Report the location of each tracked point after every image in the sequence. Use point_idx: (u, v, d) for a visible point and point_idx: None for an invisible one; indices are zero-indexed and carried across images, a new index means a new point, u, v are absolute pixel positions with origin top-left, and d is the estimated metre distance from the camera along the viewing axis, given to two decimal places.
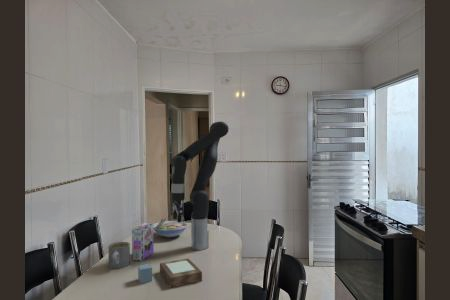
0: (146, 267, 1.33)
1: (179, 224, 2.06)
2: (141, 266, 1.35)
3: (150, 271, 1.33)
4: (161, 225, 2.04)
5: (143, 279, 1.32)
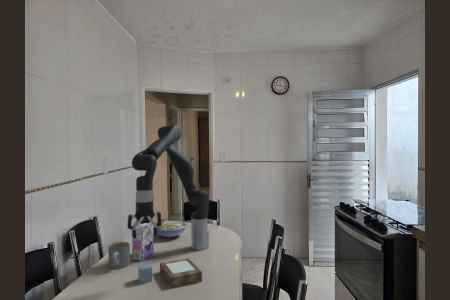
0: (146, 267, 1.33)
1: (179, 224, 2.06)
2: (141, 266, 1.35)
3: (150, 271, 1.33)
4: (161, 225, 2.04)
5: (143, 279, 1.32)
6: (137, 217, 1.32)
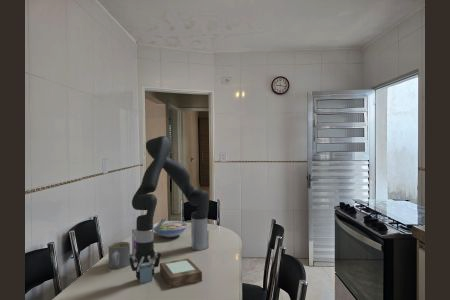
0: (146, 267, 1.33)
1: (179, 224, 2.06)
2: (141, 266, 1.35)
3: (150, 271, 1.33)
4: (161, 225, 2.04)
5: (143, 279, 1.32)
6: (137, 258, 1.32)
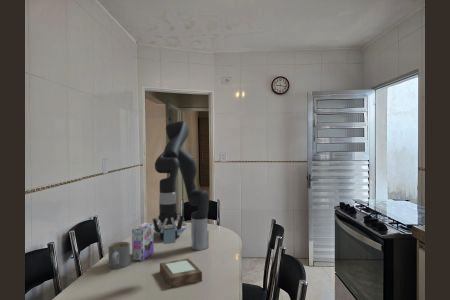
0: (169, 229, 1.36)
1: None
2: (164, 228, 1.37)
3: (173, 232, 1.36)
4: None
5: (167, 240, 1.34)
6: (161, 220, 1.35)
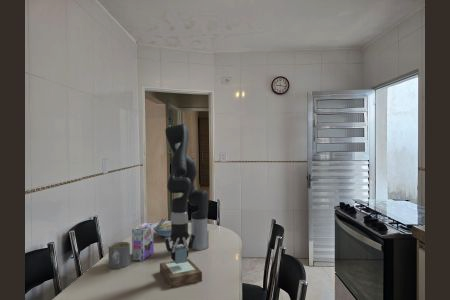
0: (181, 248, 1.37)
1: None
2: (176, 247, 1.38)
3: (185, 252, 1.37)
4: (161, 225, 2.04)
5: (178, 260, 1.35)
6: (173, 240, 1.36)
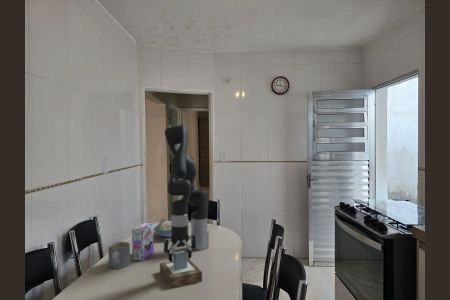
0: (181, 254, 1.37)
1: None
2: (176, 253, 1.38)
3: (185, 258, 1.37)
4: (161, 225, 2.04)
5: (179, 265, 1.35)
6: (173, 241, 1.36)
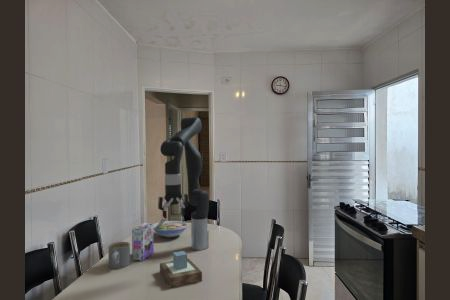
0: (181, 254, 1.37)
1: (179, 224, 2.06)
2: (176, 253, 1.38)
3: (185, 258, 1.37)
4: (161, 225, 2.04)
5: (179, 265, 1.35)
6: (167, 199, 1.43)
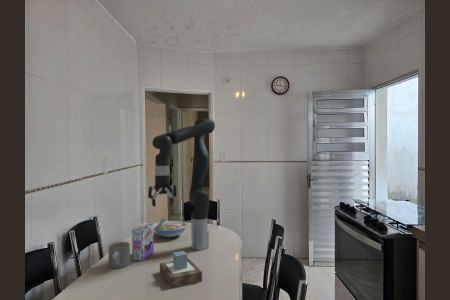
0: (181, 254, 1.37)
1: (179, 224, 2.06)
2: (176, 253, 1.38)
3: (185, 258, 1.37)
4: (161, 225, 2.04)
5: (179, 265, 1.35)
6: (156, 188, 1.55)
